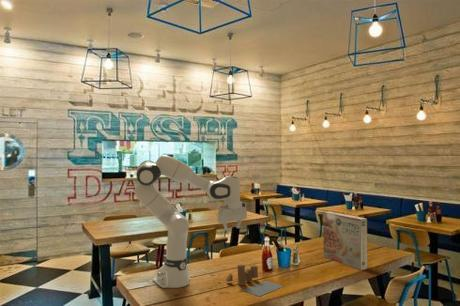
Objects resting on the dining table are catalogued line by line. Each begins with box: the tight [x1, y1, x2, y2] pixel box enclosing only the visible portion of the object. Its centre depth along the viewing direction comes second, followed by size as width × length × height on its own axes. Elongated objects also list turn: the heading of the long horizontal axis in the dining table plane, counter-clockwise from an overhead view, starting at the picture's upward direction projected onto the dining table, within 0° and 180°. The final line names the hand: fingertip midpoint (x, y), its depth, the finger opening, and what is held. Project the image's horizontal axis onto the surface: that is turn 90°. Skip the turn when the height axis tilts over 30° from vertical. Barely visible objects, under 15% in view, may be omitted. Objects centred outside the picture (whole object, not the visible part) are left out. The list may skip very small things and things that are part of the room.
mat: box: [241, 280, 284, 297], centre depth 191 cm, size 12×20×1 cm, turn 135°
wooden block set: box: [225, 263, 259, 286], centre depth 200 cm, size 18×9×10 cm, turn 114°
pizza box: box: [323, 211, 368, 271], centre depth 233 cm, size 32×5×32 cm, turn 28°
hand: (232, 229), depth 204 cm, fingers open, 8 cm apart
